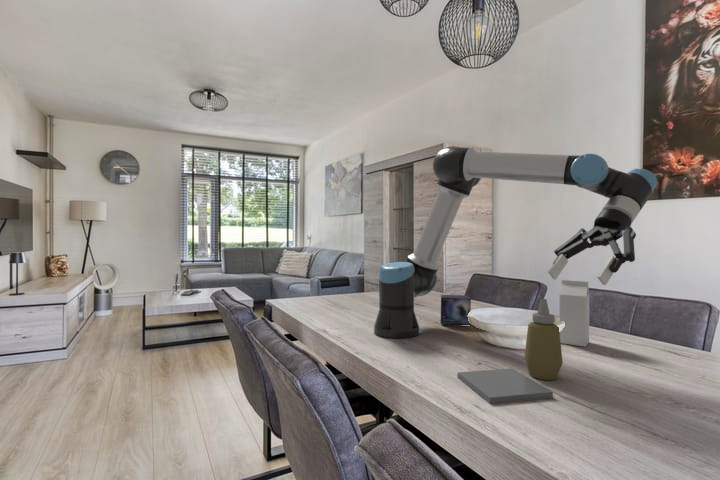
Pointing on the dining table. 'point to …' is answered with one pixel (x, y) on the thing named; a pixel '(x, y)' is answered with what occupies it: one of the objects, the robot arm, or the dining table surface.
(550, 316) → the squeeze bottle
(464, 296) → the small box
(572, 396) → the dining table surface
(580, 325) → the milk carton
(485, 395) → the slate trivet
